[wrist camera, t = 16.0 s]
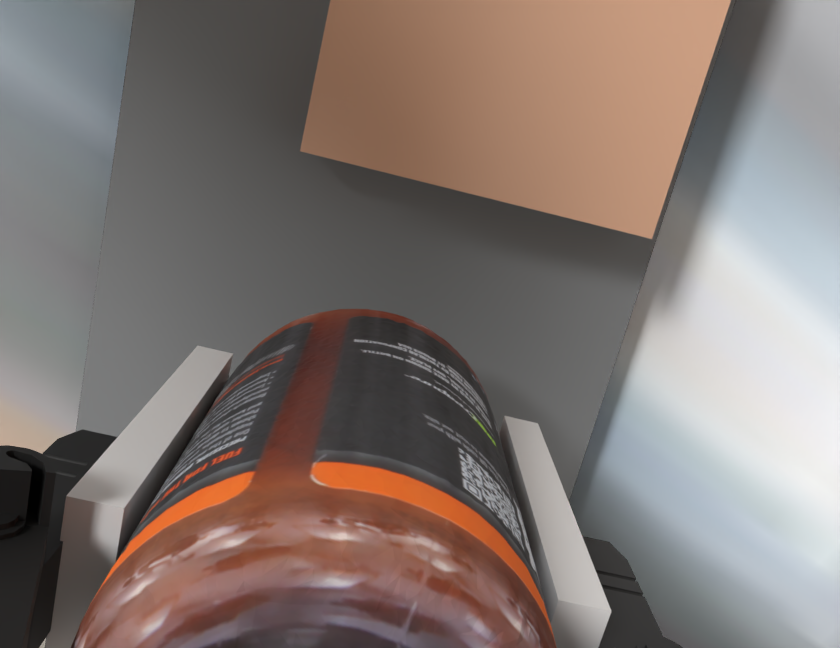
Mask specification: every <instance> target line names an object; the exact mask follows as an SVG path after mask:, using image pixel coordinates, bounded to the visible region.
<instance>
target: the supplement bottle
mask: <svg viewBox="0 0 840 648" xmlns="http://www.w3.org/2000/svg"><path fill="white" fill-rule="evenodd" d="M71 648H557V647H556V643H555V640H554V636H553V632H552V628H551V624H550V621H549V618H548V614H547V609H546V604H545V599H544V595H543V591H542V588H541V585H540V581H539V578H538V574H537V571H536V567H535V563H534V560H533V556H532V552H531V549H530V545H529V542H528V538H527V534H526V530H525V527H524V523H523V520H522V516H521V513H520V508H519V503H518V500H517V498H516V495H515V491H514V488H513V484H512V480H511V476H510V472H509V469H508V464H507V461H506V458H505V455H504V450H503V447H502V444H501V440H500V436H499V433H498V429H497V424H496V421H495V418H494V415H493V412H492V409H491V407H490V404H489V401H488V397H487V395H486V392H485V390H484V389H483V387H482V385H481V383H480V382H479V380H478V378H477V376H476V374H475V372H474V371H473V370H472V368H471V367H470V366H469V364H468V363H467V361H466V360H465V359H464V358H463V357H462V356H461V355H460V354H459V353H458V351H457V350H456V349H454V348H453V347H452V346H451V345H450V344H449V343H448V342H447V341H446V340H444V339H443V338H441V337H440V336H438V335H437V334H436V333H434V332H433V331H432V330H430V329H429V328H427V327H425V326H424V325H421V324H418V323H417V322H415V321H413V320H411V319H408V318H406V317H404V316H400V315H397V314H393V313H389V312H384V311H378V310H370V309H338V310H332V311H325V312H320V313H316V314H311V315H308V316H305V317H302V318H300V319H297V320H295V321H292V322H290V323H289V324H287V325H285V326H283V327H282V328H280V329H278V330H277V331H275V332H274V333H272V334H271V335H269V336H268V337H267V338H265V339H264V340H263V341H261V342H260V343H259V344H258V345H257V346H256V347H255V348H254V349H253V350H252V351H250V352H249V354H248V355H247V356H246V357H245V359H244V360H243V361H242V363H241V364H240V365H239V366H238V367H237V368H236V369H235V371H234V372H233V373H232V375H231V376H230V378H229V379H228V380H227V381H226V383H225V384H224V386H223V388H222V390H221V391H220V393H219V394H218V396H217V398H216V399H215V401H214V403H213V404H212V405H211V407H210V410H209V412H208V413H207V415H206V416H205V418H204V419H203V420H202V422H201V424H200V425H199V427H198V428H197V430H196V432H195V433H194V435H193V437H192V439H191V440H190V442H189V443H188V445H187V446H186V448H185V450H184V451H183V453H182V455H181V456H180V458H179V459H178V461H177V463H176V465H175V466H174V468H173V469H172V471H171V473H170V474H169V476H168V478H167V479H166V481H165V482H164V484H163V486H162V487H161V489H160V490H159V492H158V493H157V495H156V497H155V498H154V500H153V501H152V503H151V505H150V506H149V508H148V510H147V512H146V513H145V515H144V516H143V518H142V520H141V521H140V523H139V525H138V526H137V528H136V529H135V531H134V532H133V534H132V536H131V538H130V539H129V541H128V543H127V544H126V546H125V547H124V549H123V551H122V553H121V554H120V556H119V558H118V560H117V561H116V563H115V564H114V566H113V567H112V568H111V570H110V572H109V574H108V575H107V577H106V579H105V580H104V582H103V584H102V585H101V587H100V589H99V590H98V592H97V594H96V595H95V597H94V599H93V600H92V602H91V603H90V605H89V607H88V609H87V611H86V613H85V615H84V617H83V619H82V621H81V623H80V626H79V629H78V632H77V634H76V636H75V639H74V641H73V643H72V646H71Z"/></svg>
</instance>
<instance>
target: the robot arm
mask: <svg viewBox="0 0 840 648" xmlns="http://www.w3.org/2000/svg"><path fill="white" fill-rule="evenodd" d="M232 358H233V353H228V352H224V351H219V350H215V349H211V348H206V347H202V346H197V347H196V348H195V349H194V350H193V352H192V353H191V354H190V355H189V356H188V357H187V358H186V360H185V361H184V362H183V363H182V364H181V365H180V366H179V368H178V369H177V370H176V371H175V372H174V373H173V374H172V376H171V377H170V378H169V379H168V380H167V381H166V382H165V384H164V385H163V386H162V387H161V388H160V389H159V390H158V392H157V393H156V394H155V395H154V396H153V397H152V398H151V400H150V401H149V402H148V403H147V404H146V405H145V406H144V408H143V409H142V410H141V411H140V412H139V413H138V414H137V416H136V417H135V418H134V419H133V420H132V421H131V422H130V424H129V425H128V426H127V427H126V428H125V429H124V430H123V432H122V433H121V434H120V435H119V436H118V437H115V436H111V435H106V434H102V433H97V432H92V431H88V430H83V429H82V430H79V431H77V432H74V433H72V434H69V435H67V436H64V437H61V438H59V439H57V440H56V441H55V442H54V443H53V444H52V445H51V446H50V447H49V448H48V449H47V450H46V451H45V452H44V453H43V454H41V453H38V452H36V451H33V450H31V449H27V448H21V447H15V446H0V648H39V647H40V645H41V644H42V642H43V641H44V639H45V638H46V643H45V648H71V646H72V643H73V641H74V639H75V636H76V634H77V632H78V629H79V626H80V623H81V621H82V619H83V617H84V615H85V613H86V611H87V609H88V607H89V605H90V603H91V602H92V600H93V599H94V597H95V595H96V594H97V592H98V590H99V589H100V587H101V585H102V584H103V582H104V580H105V579H106V577H107V575H108V574H109V572H110V570H111V568H112V567H113V566H114V564H115V563H116V561H117V560H118V558H119V556H120V554H121V553H122V551H123V549H124V547H125V546H126V544H127V543H128V541H129V539H130V538H131V536H132V534H133V532H134V531H135V529H136V528H137V526H138V525H139V523H140V521H141V520H142V518H143V516H144V515H145V513H146V512H147V510H148V508H149V506H150V505H151V503H152V501H153V500H154V498H155V497H156V495H157V493H158V492H159V490H160V489H161V487H162V486H163V484H164V482H165V481H166V479H167V478H168V476H169V474H170V473H171V471H172V469H173V468H174V466H175V465H176V463H177V461H178V459H179V458H180V456H181V455H182V453H183V451H184V450H185V448H186V446H187V445H188V443H189V442H190V440H191V439H192V437H193V435H194V433H195V432H196V430H197V428H198V427H199V425H200V424H201V422H202V420H203V419H204V418H205V416H206V415H207V413H208V412H209V410H210V407H211V405H212V404H213V403H214V401H215V399H216V398H217V396H218V394H219V393H220V391H221V390H222V388H223V386H224V384H225V383H226V381H227V380H228V379H229V373H230V368H231V363H232ZM499 436H500V440H501V444H502V447H503V450H504V455H505V458H506V461H507V464H508V469H509V472H510V476H511V480H512V484H513V488H514V491H515V495H516V498H517V500H518V503H519V508H520V513H521V516H522V520H523V523H524V527H525V530H526V534H527V538H528V542H529V545H530V549H531V552H532V556H533V560H534V563H535V567H536V571H537V574H538V578H539V581H540V585H541V588H542V591H543V595H544V599H545V604H546V609H547V614H548V618H549V621H550V624H551V628H552V632H553V636H554V640H555V643H556V647H557V648H683V647H681V646H680V645H679V644H677V643H675V642H673V641H671V640H669V639H667V638H665V637H663V635H662V633H661V631H660V629H659V627H658V625H657V623H656V620H655V618H654V616H653V614H652V612H651V610H650V608H649V605H648V603H647V601H646V599H645V597H642V594H643V593H642V591H641V588H640V586H639V584H638V582H635V580H636V578H635V576H634V574H633V571H632V569H631V567H630V565H629V563H628V561H627V560H626V559H625V558H624V557H623V556H622V555H621V554H620V553H619V552H618V551H617V550H616V549H615V548H614V547H613V546H612V545H611V544H610V543H609V542H606V541H602V540H597V539H593V538H588V537H583V536H582V535H581V532H580V530H579V527H578V524H577V522H576V519H575V517H574V514H573V512H572V509H571V507H570V504H569V501H568V499H567V496H566V494H565V491H564V489H563V486H562V484H561V481H560V478H559V476H558V473H557V471H556V468H555V466H554V463H553V461H552V458H551V455H550V453H549V450H548V448H547V445H546V443H545V440H544V438H543V435H542V433H541V430H540V427H539V425H538V423H534V422H530V421H526V420H521V419H517V418H513V417H508V416H504V419H503V422H502V425H501V429H500V432H499Z"/></svg>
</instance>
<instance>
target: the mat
mask: <svg viewBox="0 0 840 648" xmlns="http://www.w3.org/2000/svg"><path fill="white" fill-rule="evenodd" d="M735 2H736V0H731V2H730V5H729V8H728V11H727V14H726V17H725V20H724V23H723V26H722V29H721V32H720V35H719V38H718V41H717V44H716V47H715V50H714V53H713V56H712V59H711V62H710V65H709V68H708V71H707V74H706V77H705V80H704V83H703V86H702V89H701V92H700V95H699V98H698V101H697V104H696V107H695V111H694V114H693V117H692V120H691V123H690V126H689V129H688V132H687V135H686V138H685V141H684V144H683V147H682V150H681V153H680V156H679V159H678V162H677V165H676V168H675V171H674V174H673V177H672V180H671V183H670V186H669V189H668V192H667V195H666V198H665V201H664V204H663V207H662V210H661V213H660V216H659V219H658V222H657V225H656V228H655V231H654V234H653V237H652V239H650V238H646V237H642V236H638V235H634V234H630V233H626V232H622V231H618V230H614V229H610V228H606V227H602V226H598V225H594V224H590V223H586V222H582V221H578V220H574V219H570V218H566V217H562V216H558V215H554V214H550V213H546V212H542V211H538V210H534V209H530V208H526V207H522V206H518V205H514V204H510V203H506V202H502V201H498V200H494V199H490V198H486V197H482V196H478V195H473V194H469V193H465V192H461V191H457V190H453V189H449V188H445V187H441V186H437V185H433V184H429V183H425V182H421V181H417V180H413V179H409V178H405V177H401V176H397V175H393V174H389V173H385V172H381V171H377V170H373V169H369V168H365V167H361V166H357V165H353V164H349V163H345V162H341V161H337V160H333V159H329V158H325V157H321V156H317V155H313V154H309V153H305V152H301V151H300V148H301V144H302V139H303V134H304V129H305V124H306V119H307V114H308V109H309V104H310V99H311V94H312V89H313V84H314V79H315V74H316V69H317V64H318V59H319V54H320V49H321V44H322V39H323V34H324V29H325V25H326V20H327V15H328V10H329V5H330V0H135V7H134V14H133V21H132V29H131V36H130V43H129V50H128V58H127V65H126V72H125V79H124V86H123V94H122V101H121V108H120V115H119V123H118V130H117V137H116V144H115V151H114V159H113V166H112V173H111V180H110V187H109V195H108V202H107V209H106V216H105V224H104V231H103V238H102V245H101V252H100V260H99V267H98V274H97V281H96V289H95V296H94V303H93V310H92V317H91V325H90V332H89V339H88V346H87V354H86V361H85V368H84V375H83V382H82V390H81V397H80V404H79V411H78V418H77V426H76V432H77V431H79V430H82V429H83V430H88V431H92V432H97V433H102V434H106V435H111V436H115V437H118V436H119V435H120V434H121V433H122V432H123V430H124V429H125V428H126V427H127V426H128V425H129V424H130V422H131V421H132V420H133V419H134V418H135V417H136V416H137V414H138V413H139V412H140V411H141V410H142V409H143V408H144V406H145V405H146V404H147V403H148V402H149V401H150V400H151V398H152V397H153V396H154V395H155V394H156V393H157V392H158V390H159V389H160V388H161V387H162V386H163V385H164V384H165V382H166V381H167V380H168V379H169V378H170V377H171V376H172V374H173V373H174V372H175V371H176V370H177V369H178V368H179V366H180V365H181V364H182V363H183V362H184V361H185V360H186V358H187V357H188V356H189V355H190V354H191V353H192V352H193V350H194V349H195V348H196V347H197V346H202V347H206V348H211V349H215V350H219V351H224V352H228V353H233V358H232V363H231V368H230V373H229V378H230V376H231V375H232V373H233V372H234V371H235V369H236V368H237V367H238V366H239V365H240V364H241V363H242V361H243V360H244V359H245V357H246V356H247V355H248V354H249V352H250V351H252V350H253V349H254V348H255V347H256V346H257V345H258V344H259V343H260V342H261V341H263V340H264V339H265V338H267V337H268V336H269V335H271V334H272V333H274V332H275V331H277V330H278V329H280V328H282V327H283V326H285V325H287V324H289V323H290V322H292V321H295V320H297V319H300V318H302V317H305V316H308V315H311V314H316V313H320V312H325V311H332V310H338V309H370V310H378V311H384V312H389V313H393V314H397V315H400V316H404V317H406V318H408V319H411V320H413V321H415V322H417V323H418V324H421V325H424V326H425V327H427V328H429V329H430V330H432V331H433V332H434V333H436V334H437V335H438V336H440V337H441V338H443V339H444V340H446V341H447V342H448V343H449V344H450V345H451V346H452V347H453V348H454V349H456V350H457V351H458V353H459V354H460V355H461V356H462V357H463V358H464V359H465V360H466V361H467V363H468V364H469V366H470V367H471V368H472V370H473V371H474V372H475V374H476V376H477V378H478V380H479V382H480V383H481V385H482V387H483V389H484V390H485V392H486V395H487V397H488V401H489V404H490V407H491V409H492V412H493V415H494V418H495V421H496V424H497V429H498V433H499V432H500V429H501V425H502V422H503V419H504V416H508V417H513V418H517V419H521V420H526V421H530V422H534V423H538V425H539V427H540V430H541V433H542V435H543V438H544V440H545V443H546V445H547V448H548V450H549V453H550V455H551V458H552V461H553V463H554V466H555V468H556V471H557V473H558V476H559V478H560V481H561V484H562V486H563V489H564V491H565V494H566V496H567V499H568V501H569V500H570V497H571V494H572V491H573V488H574V485H575V482H576V479H577V476H578V473H579V470H580V467H581V464H582V461H583V458H584V455H585V452H586V449H587V446H588V443H589V440H590V437H591V434H592V431H593V428H594V425H595V422H596V419H597V416H598V413H599V410H600V407H601V404H602V401H603V398H604V395H605V392H606V389H607V386H608V383H609V380H610V377H611V374H612V371H613V368H614V365H615V362H616V359H617V356H618V353H619V350H620V347H621V344H622V341H623V338H624V335H625V332H626V329H627V326H628V323H629V320H630V317H631V314H632V311H633V308H634V305H635V302H636V299H637V296H638V293H639V290H640V287H641V284H642V281H643V278H644V275H645V272H646V269H647V266H648V263H649V260H650V257H651V254H652V251H653V248H654V245H655V242H656V239H657V236H658V233H659V230H660V227H661V224H662V221H663V218H664V215H665V212H666V209H667V206H668V203H669V200H670V197H671V194H672V191H673V188H674V185H675V182H676V179H677V176H678V173H679V170H680V167H681V164H682V161H683V158H684V155H685V152H686V149H687V146H688V143H689V140H690V137H691V134H692V131H693V128H694V125H695V122H696V119H697V116H698V113H699V110H700V107H701V104H702V101H703V98H704V95H705V92H706V89H707V86H708V83H709V80H710V77H711V74H712V71H713V68H714V65H715V62H716V59H717V56H718V53H719V50H720V47H721V44H722V41H723V38H724V35H725V32H726V29H727V26H728V23H729V20H730V17H731V14H732V11H733V8H734V5H735Z"/></svg>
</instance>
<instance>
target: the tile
mask: <svg viewBox="0 0 840 648" xmlns="http://www.w3.org/2000/svg"><path fill="white" fill-rule="evenodd" d="M730 2H731V0H330V5H329V10H328V15H327V20H326V25H325V29H324V34H323V39H322V44H321V49H320V54H319V59H318V64H317V69H316V74H315V79H314V84H313V89H312V94H311V99H310V104H309V109H308V114H307V119H306V124H305V129H304V134H303V139H302V144H301V148H300V151H301V152H305V153H309V154H313V155H317V156H321V157H325V158H329V159H333V160H337V161H341V162H345V163H349V164H353V165H357V166H361V167H365V168H369V169H373V170H377V171H381V172H385V173H389V174H393V175H397V176H401V177H405V178H409V179H413V180H417V181H421V182H425V183H429V184H433V185H437V186H441V187H445V188H449V189H453V190H457V191H461V192H465V193H469V194H473V195H478V196H482V197H486V198H490V199H494V200H498V201H502V202H506V203H510V204H514V205H518V206H522V207H526V208H530V209H534V210H538V211H542V212H546V213H550V214H554V215H558V216H562V217H566V218H570V219H574V220H578V221H582V222H586V223H590V224H594V225H598V226H602V227H606V228H610V229H614V230H618V231H622V232H626V233H630V234H634V235H638V236H642V237H646V238H650V239H652V237H653V234H654V231H655V228H656V225H657V222H658V219H659V216H660V213H661V210H662V207H663V204H664V201H665V198H666V195H667V192H668V189H669V186H670V183H671V180H672V177H673V174H674V171H675V168H676V165H677V162H678V159H679V156H680V153H681V150H682V147H683V144H684V141H685V138H686V135H687V132H688V129H689V126H690V123H691V120H692V117H693V114H694V111H695V107H696V104H697V101H698V98H699V95H700V92H701V89H702V86H703V83H704V80H705V77H706V74H707V71H708V68H709V65H710V62H711V59H712V56H713V53H714V50H715V47H716V44H717V41H718V38H719V35H720V32H721V29H722V26H723V23H724V20H725V17H726V14H727V11H728V8H729V5H730Z"/></svg>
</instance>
